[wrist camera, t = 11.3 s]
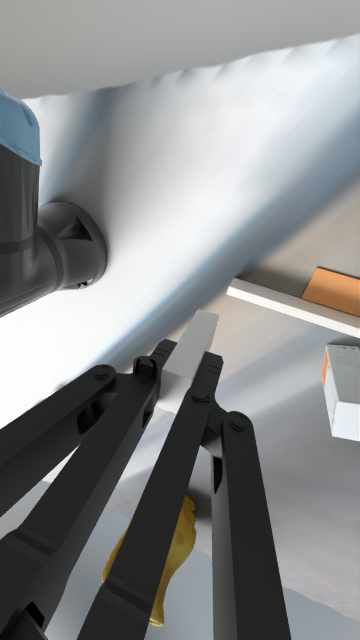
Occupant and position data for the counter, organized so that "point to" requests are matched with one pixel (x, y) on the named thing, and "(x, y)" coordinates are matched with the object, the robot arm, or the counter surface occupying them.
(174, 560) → the pitcher
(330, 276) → the trap pits
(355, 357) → the skincare box
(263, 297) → the track
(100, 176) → the counter surface
